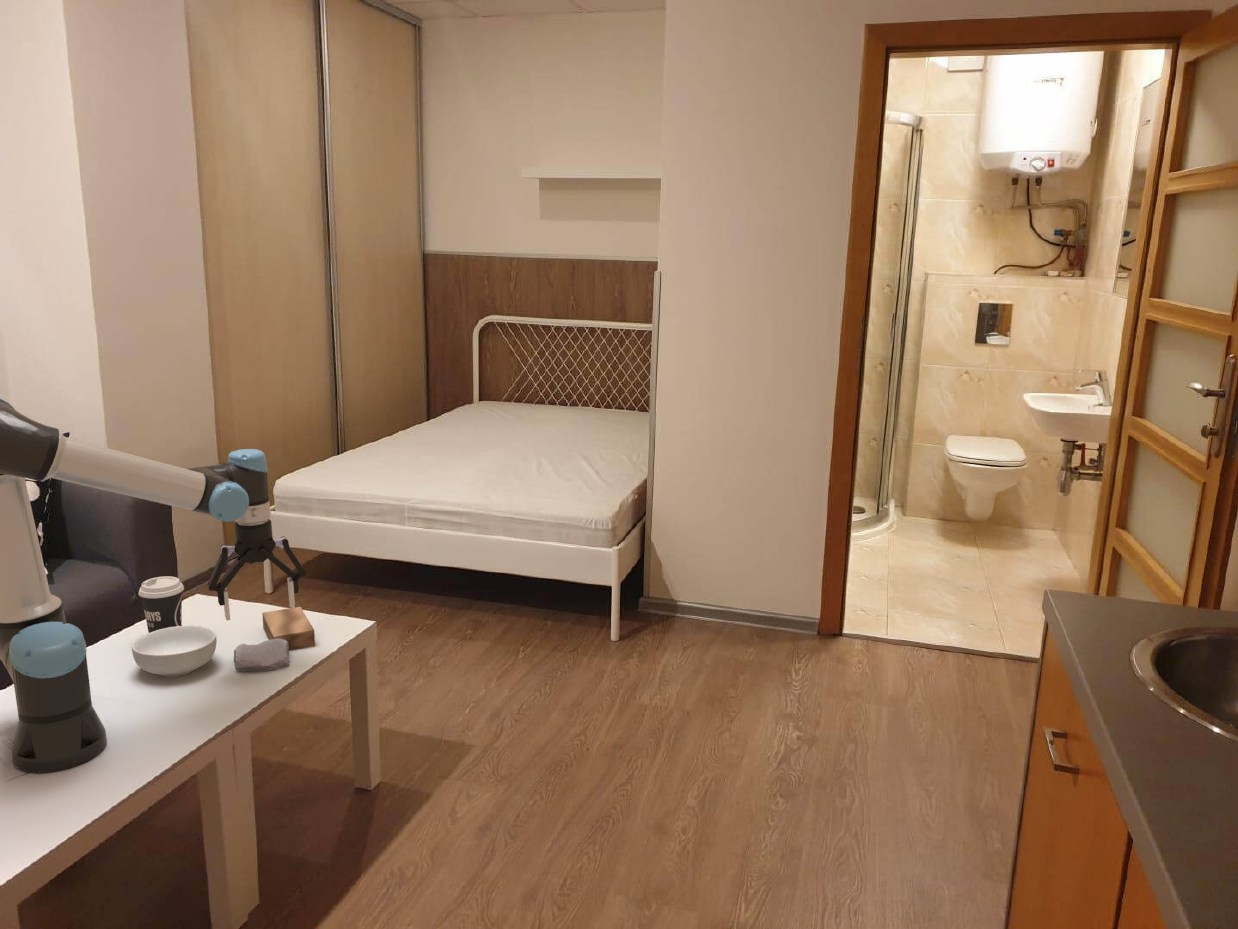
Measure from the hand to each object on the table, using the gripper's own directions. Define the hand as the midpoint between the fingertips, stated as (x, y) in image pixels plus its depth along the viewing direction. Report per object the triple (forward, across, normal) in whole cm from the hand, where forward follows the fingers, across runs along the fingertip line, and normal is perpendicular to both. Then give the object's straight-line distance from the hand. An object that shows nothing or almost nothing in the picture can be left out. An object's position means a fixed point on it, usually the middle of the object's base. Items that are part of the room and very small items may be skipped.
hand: (260, 612), depth 211 cm
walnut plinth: (+12, +8, +13) cm, 19 cm away
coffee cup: (+12, -18, +22) cm, 31 cm away
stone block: (+13, 0, 0) cm, 13 cm away
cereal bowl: (+12, -18, +6) cm, 22 cm away
